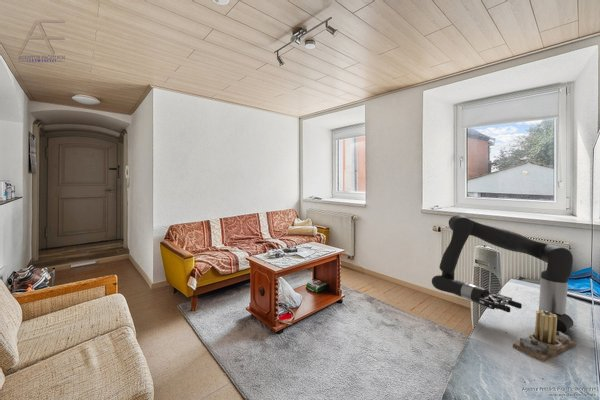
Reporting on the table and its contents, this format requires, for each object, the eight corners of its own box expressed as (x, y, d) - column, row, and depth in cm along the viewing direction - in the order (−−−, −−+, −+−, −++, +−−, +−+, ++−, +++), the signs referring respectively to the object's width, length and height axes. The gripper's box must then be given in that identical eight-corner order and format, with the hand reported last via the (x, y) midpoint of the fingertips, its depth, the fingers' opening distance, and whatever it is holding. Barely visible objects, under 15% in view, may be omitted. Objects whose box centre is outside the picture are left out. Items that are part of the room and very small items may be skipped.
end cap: (566, 338, 105) (567, 322, 105) (542, 330, 111) (543, 314, 111) (573, 332, 111) (574, 316, 110) (550, 324, 117) (551, 309, 116)
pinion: (538, 336, 104) (540, 307, 103) (558, 344, 99) (560, 313, 98) (531, 339, 101) (533, 309, 101) (550, 348, 96) (553, 316, 96)
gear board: (545, 332, 109) (546, 323, 109) (575, 344, 101) (576, 334, 101) (513, 346, 98) (513, 337, 98) (543, 361, 90) (544, 350, 90)
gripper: (465, 288, 120) (506, 302, 105) (484, 283, 126) (525, 296, 111) (465, 304, 120) (505, 320, 105) (483, 299, 126) (524, 313, 112)
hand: (515, 308), depth 108 cm, fingers open, 8 cm apart
